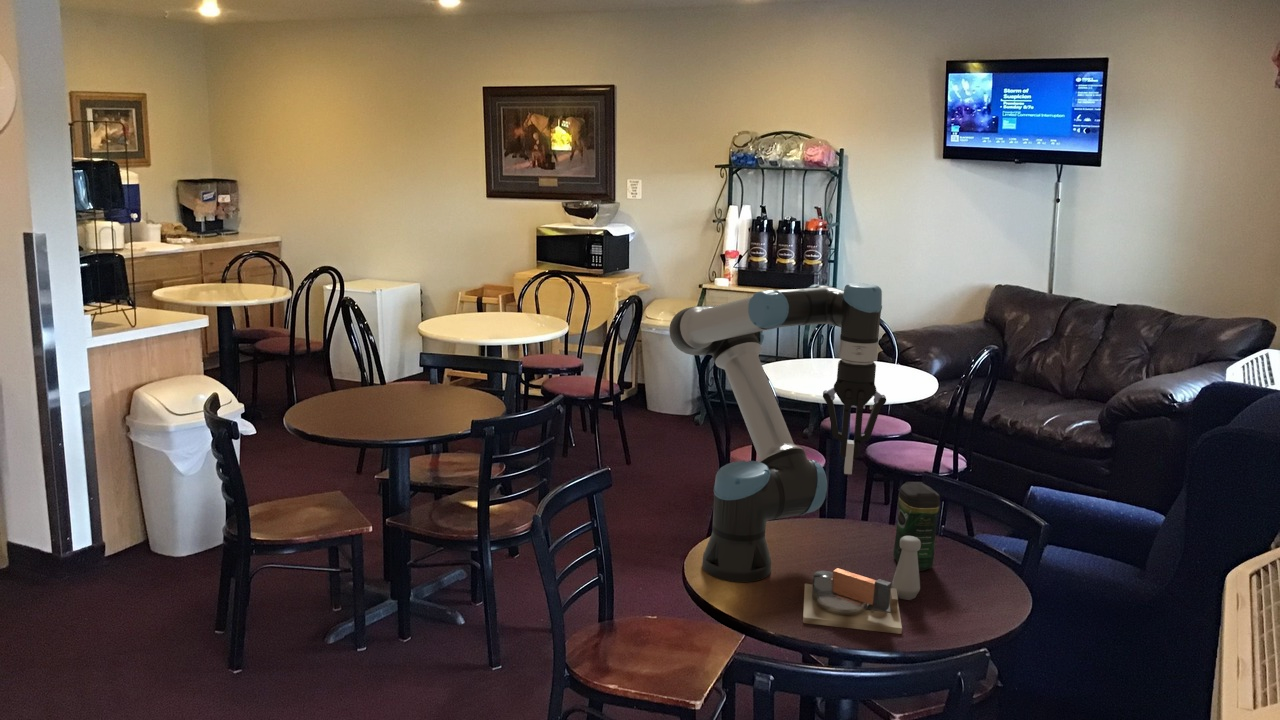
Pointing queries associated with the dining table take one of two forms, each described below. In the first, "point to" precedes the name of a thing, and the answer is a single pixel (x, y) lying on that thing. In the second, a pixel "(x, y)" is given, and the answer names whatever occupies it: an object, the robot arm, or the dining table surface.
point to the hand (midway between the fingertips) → (847, 471)
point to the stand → (865, 620)
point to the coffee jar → (918, 520)
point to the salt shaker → (907, 569)
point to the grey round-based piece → (849, 592)
